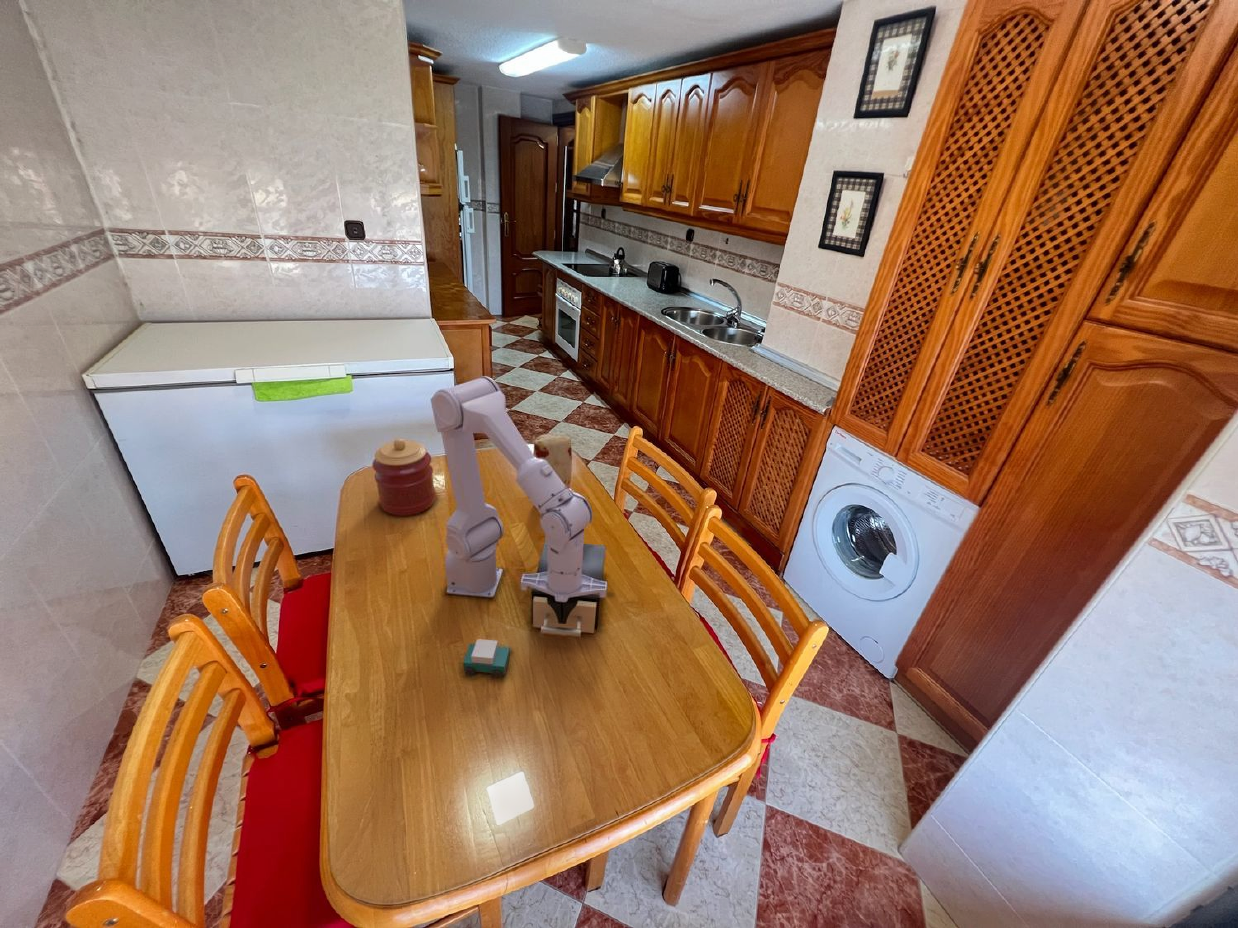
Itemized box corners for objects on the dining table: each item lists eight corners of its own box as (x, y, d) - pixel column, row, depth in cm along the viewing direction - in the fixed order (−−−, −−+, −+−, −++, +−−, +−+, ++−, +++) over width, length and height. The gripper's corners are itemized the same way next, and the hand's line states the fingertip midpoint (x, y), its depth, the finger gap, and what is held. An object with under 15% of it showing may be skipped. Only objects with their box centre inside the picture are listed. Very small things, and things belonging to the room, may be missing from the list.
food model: (534, 513, 124) (534, 443, 114) (530, 498, 129) (529, 430, 119) (572, 509, 127) (575, 440, 117) (567, 494, 132) (569, 427, 122)
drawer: (591, 652, 89) (593, 626, 85) (528, 646, 89) (527, 619, 85) (599, 581, 104) (601, 557, 101) (545, 576, 104) (545, 551, 101)
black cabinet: (597, 629, 94) (600, 597, 90) (531, 623, 94) (531, 590, 90) (602, 576, 107) (605, 545, 103) (544, 570, 107) (545, 539, 102)
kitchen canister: (429, 482, 131) (421, 423, 123) (442, 509, 122) (434, 446, 113) (376, 494, 125) (363, 432, 116) (385, 522, 116) (372, 457, 107)
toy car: (463, 674, 84) (461, 658, 82) (471, 650, 88) (470, 634, 86) (504, 678, 84) (503, 662, 82) (511, 654, 88) (510, 638, 86)
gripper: (516, 574, 78) (517, 633, 85) (607, 583, 78) (601, 641, 85) (525, 545, 84) (526, 602, 91) (609, 554, 85) (604, 610, 91)
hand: (562, 619), depth 89 cm, fingers closed
